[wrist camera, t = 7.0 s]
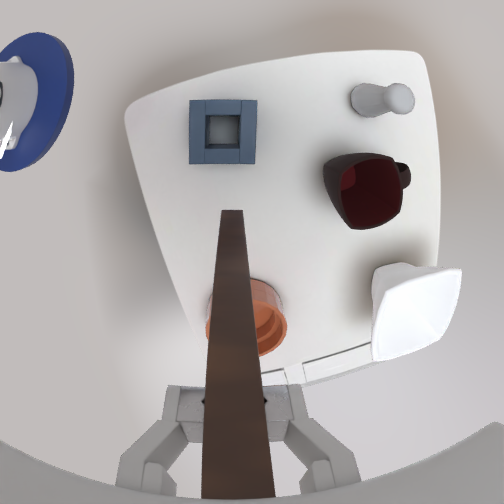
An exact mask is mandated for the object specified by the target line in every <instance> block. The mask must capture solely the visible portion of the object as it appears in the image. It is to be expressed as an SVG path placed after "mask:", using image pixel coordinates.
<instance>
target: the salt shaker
mask: <svg viewBox="0 0 504 504" xmlns="http://www.w3.org/2000/svg"><path fill="white" fill-rule="evenodd" d="M351 102H352V106H353V108H354V109H355V110H356V111H357V112H358V114H360V115H362V116H364V117H366V118H369V117H376V116H379V115H382V114H384V113H387V112H390V111H392V112H394V113H396V114H408V113H409V112H411V111H412V110H413V108H414V105H415V98H414V95H413V92H412V91H411V90H410V88H409V87H407V86H406V85H404V84H398V83H394V84H391V85H389V86H388V87H383V86H378V85H374V84H366V83H362V84H360V85H358V86H356V87H355V88H354V90H353V91H352V93H351Z"/></svg>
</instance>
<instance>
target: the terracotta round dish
mask: <svg viewBox="0 0 504 504" xmlns="http://www.w3.org/2000/svg"><path fill="white" fill-rule="evenodd" d="M250 281H251V290H252V299H253V308H254V317H255V326H256V335H257V344H258V352H259V357H260V356H263V355H265V354H267V353H269V352H271V351H273V350H274V349H275V348H277V347H278V346H279V345H280V344H281V343H282V341H283V339H284V337H285V336H286V331H287V323H286V319H285V316H284V312H283V308H282V304H281V301H280V297H279V295H278V294H277V293H276V291H275V290H274V289H273V288H272V287H270V286H269V285H267V284H265V283H264V282H261V281H257V280H253V279H250ZM211 305H212V295H211V297H210V300H209V303H208V305H207V316H206V327H205V328H206V337H207V339H208V341H209V329H210V317H211Z"/></svg>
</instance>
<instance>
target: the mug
mask: <svg viewBox="0 0 504 504" xmlns="http://www.w3.org/2000/svg"><path fill="white" fill-rule="evenodd" d="M323 175H324V182H325V186H326V189H327V192H328V194H329V197H330V199H331V201H332V203H333V205H334V207H335V208H336V210H337V212H338V213H339V215H340V216H341V218H342V219H343V220H344V222H345V223H346V224H347V225H348V226H349V227H350V228H351V229H357V230H365V229H371V228H375V227H378V226H381V225H383V224H385V223H387V222H388V221H390V220H391V219H393V218H394V217H395V216H396V215H397V214H399V213H400V210H401V205H402V199H403V189H404V188H406V187H407V186H409V184H410V182H411V173H410V170H409V167H408V166H407V165H406V164H404V163H399V162H395V161H394V160H393V158H392V157H389V156H385V155H381V154H374V153H353V154H346V155H342V156H338V157H336V158H334V159H332V160H330V161H328V162H327V163H326V164H325V165H324V169H323Z"/></svg>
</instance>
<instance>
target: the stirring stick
mask: <svg viewBox="0 0 504 504" xmlns="http://www.w3.org/2000/svg"><path fill="white" fill-rule="evenodd" d="M273 480H274V479H273V472H272V463H271V455H270V447H269V438H268V430H267V421H266V413H265V404H264V396H263V387H262V378H261V370H260V361H259V352H258V344H257V335H256V326H255V317H254V308H253V299H252V290H251V281H250V272H249V263H248V254H247V245H246V236H245V227H244V218H243V210H222V211H221V219H220V228H219V236H218V245H217V255H216V264H215V274H214V284H213V294H212V305H211V317H210V329H209V341H208V355H207V369H206V385H205V402H204V422H203V447H202V484H201V485H202V486H201V488H202V489H201V499H222V500H237V499H262V498H274V497H276V496H275V488H274V481H273Z"/></svg>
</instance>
